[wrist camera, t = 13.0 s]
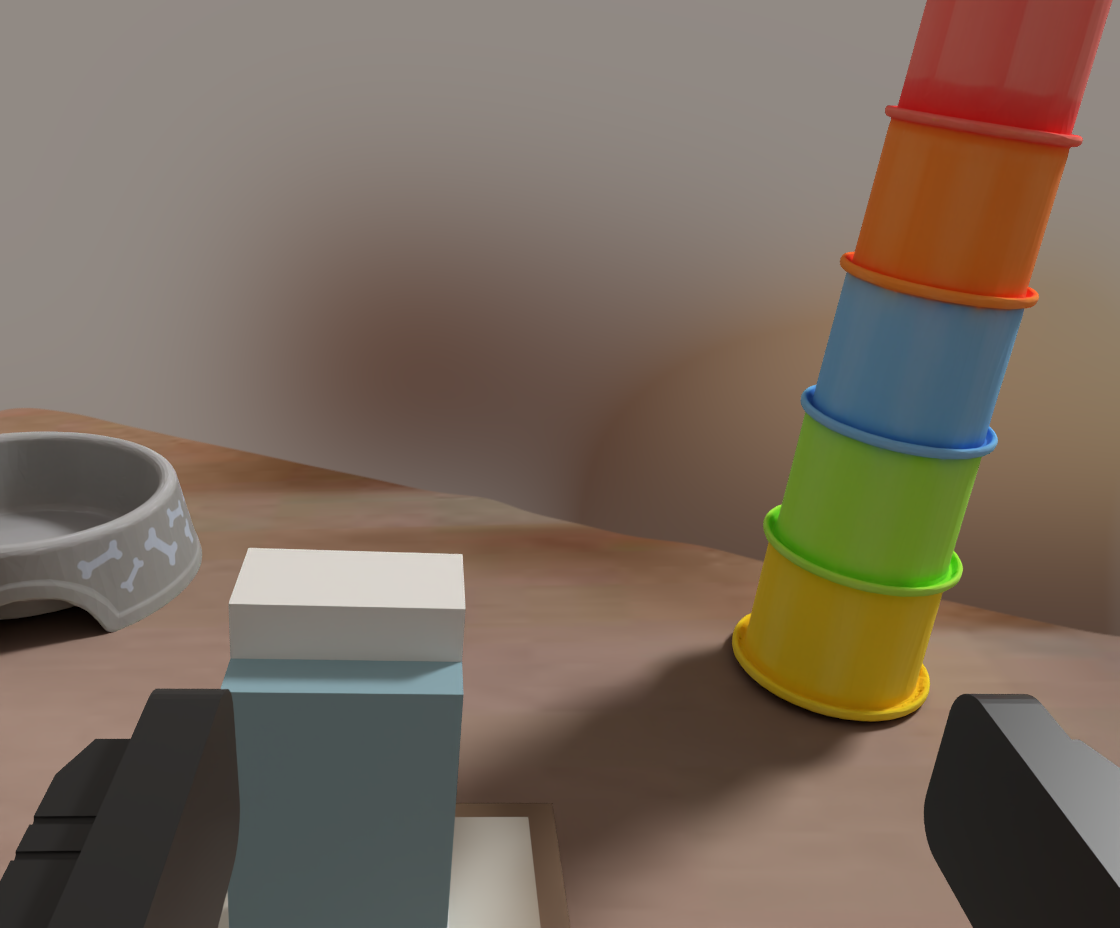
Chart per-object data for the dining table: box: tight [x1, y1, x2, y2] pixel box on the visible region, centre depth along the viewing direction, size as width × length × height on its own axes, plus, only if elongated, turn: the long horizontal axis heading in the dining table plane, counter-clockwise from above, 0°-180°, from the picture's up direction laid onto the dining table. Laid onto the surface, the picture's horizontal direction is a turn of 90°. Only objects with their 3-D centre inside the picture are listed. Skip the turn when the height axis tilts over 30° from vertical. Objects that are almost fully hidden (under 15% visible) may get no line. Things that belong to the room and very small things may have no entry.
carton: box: [221, 548, 465, 928], centre depth 28 cm, size 6×6×13 cm
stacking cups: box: [732, 0, 1112, 722], centre depth 47 cm, size 10×10×35 cm
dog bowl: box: [0, 432, 202, 632], centre depth 55 cm, size 17×18×5 cm
